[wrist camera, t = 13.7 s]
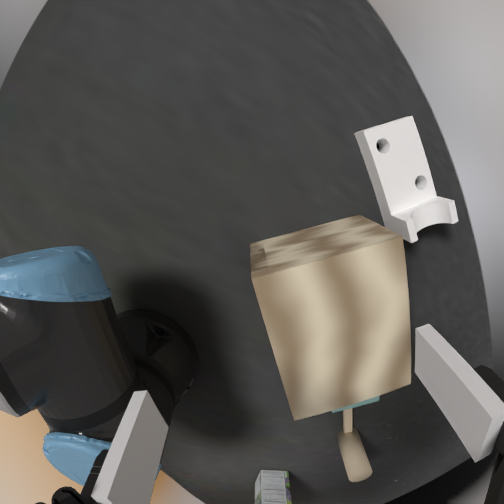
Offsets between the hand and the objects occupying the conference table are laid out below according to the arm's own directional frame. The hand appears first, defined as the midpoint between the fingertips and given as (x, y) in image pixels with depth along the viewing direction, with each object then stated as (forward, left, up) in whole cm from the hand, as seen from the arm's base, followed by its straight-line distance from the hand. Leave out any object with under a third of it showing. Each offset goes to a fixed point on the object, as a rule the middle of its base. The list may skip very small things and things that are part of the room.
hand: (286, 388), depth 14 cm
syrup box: (-10, -46, -27) cm, 55 cm away
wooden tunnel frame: (+6, -9, -27) cm, 29 cm away
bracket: (+19, +5, -27) cm, 34 cm away
